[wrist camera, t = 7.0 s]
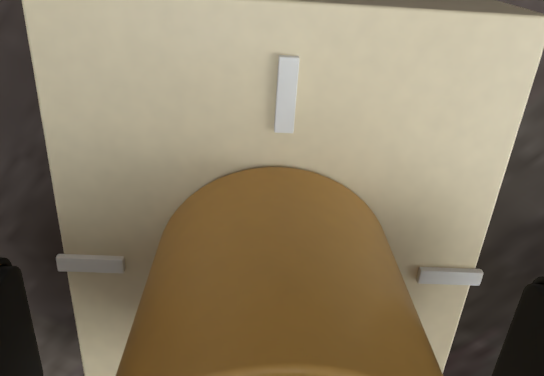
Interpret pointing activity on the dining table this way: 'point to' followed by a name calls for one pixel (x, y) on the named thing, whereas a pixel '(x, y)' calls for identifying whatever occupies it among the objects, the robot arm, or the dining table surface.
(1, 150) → the dining table surface
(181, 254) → the dimmer knob
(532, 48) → the dimmer panel
